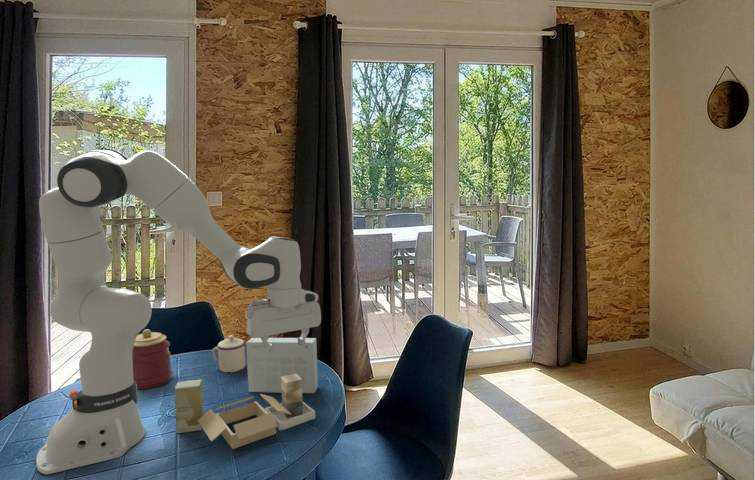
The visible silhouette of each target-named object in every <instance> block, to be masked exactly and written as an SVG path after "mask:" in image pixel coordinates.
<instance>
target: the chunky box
mask: <svg viewBox="0 0 755 480" xmlns="http://www.w3.org/2000/svg"><path fill="white" fill-rule="evenodd" d="M281 391H282V393H281V403H282V406H283V407H284V408H285V409H287V410H288V411H289V412H290V413H291V415H289V414H285V413H284V415H285V416H286V418H291V417H295V416H299V415H302V414H303V402H304V401H303V400H304V399H303V393H302V379H301V378H300V377H299V376H298V374H292V375H287V376H283V377H281Z"/></svg>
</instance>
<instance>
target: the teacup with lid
mask: <svg viewBox="0 0 755 480" xmlns="http://www.w3.org/2000/svg"><path fill="white" fill-rule="evenodd" d="M245 345H246V343H245V340H243V339H241V338H238V337H235V336H234V335H232V334H231V335H227V338H225V339H224V340H221V341H220V342H218V344H217V346H215V347H214V348H212V351H211V355H212V357H213V359H214V360H216V361H217V362H218V365H219V366H218V367H219V368H218V369H219V370H220V372H223V373H227V372H230V373H235V372H239V371H242V370H243V369H245V367H246V356H245ZM216 350H218V351H217V352H218V355H217V354H216ZM241 369H242V370H241Z"/></svg>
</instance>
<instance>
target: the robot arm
mask: <svg viewBox="0 0 755 480" xmlns="http://www.w3.org/2000/svg"><path fill="white" fill-rule="evenodd" d="M56 183H57V184H56V185H57V186H56V187H54V188H51V189H48V190H47V191H45V192H44V193H43V194H42V195H41V196H40V197H39V200H38V206H39V207H38V209H39V210H38V211H39V216H40V221H41V226H42V229H43V234H44V237H45V239H46V242H47V245H48V248H49V251H50V253H51V257H52V259H53V262H54V266H55V268H56V274H57V279H58V280H57V282H58V288H57V293H56V295H55V296H54V297H53V299H52V301H51V304H50V314H51V317H52V319H53V321H54V322H55V323H57V324H58V325H60V326H62V327H64V328H66V329H69V330H71V331H74V332H75V331H76V332H77V331H78V332H85V333H90V334H91V342H90V343H91V344H90V348H89V350H88V351H86V353H84V354H83V355H82V356H81V357H80V360H79V364H78V365H79V366H78V367H79V369H78V370H79V378H80V385H81V386H80V387H81V390H80V391H79V390H78V389H73V390H71V391H70V392H69V399H70V400H71V404H72V409H71V410H69V411H68V412H67V413H66V414H65V415H64V416H63V417H62V418H60V419H59V420H58V421H57V422H56V423H54V425H53V426H52V427H51V429H50V431H49V432H48V433H49V434H48V437H47V440H46V443H45V444H44V445H43V446H42V447H41V448H40V449H39V451H38V452H37V454H36V458H35V466H36V469H37V471H38V472H39V473H41V474H43V475H51V474H55V473H59V472H63V471H67V470H68V471H69V470H72V469H75V468H81V467H84V466H89V465H92V464H97V463H101V462H106V461H109V460H115V459H118V458H121V457H122V456H124V455H125V454H126V452H127V451H128V450H129V449H131V448H132V447H134V446H135V445H136V444H138V443H139V442H141V441H142V439H143V438H144V437H145V435H146V428H145V427H144V424H143V422H142V419H141V416H140V412H139V409H138V408H139V407H138V398H139V396H138V395H139V394H138V389H137V384H136V382H135V379H134V377H133V360H132V352H133V346H134V342H135V339H136V337H137V335H139V334H140V332H141V331H143V330H145V329H146V327H147V325H148V323H149V322H150V320H151V317H152V313H153V312H152V309H153V308H152V304H151V301H150V300H149V298H148V297H147V296H146V295H145V294H143V293H141V292H137V291H135V290H133V289H132V290H131V289H128V288H119V287H118V288H117V287H108V285H107V283H106V279H105V274H106V273H105V271H106V270H107V269H108V268H109V266H111V264H112V261H113V254H112V253H111V252H112V251H111V249H110V246H109V243H108V240H107V236H106V233H105V230H104V227H103V223H102V221H101V218H100V217H101V216H100V213H99V207H100V206H101V207H102V206H104V205H107V204H109V203H111V202H114V201H116V200H118V199H121V198H123V197H124V196H125V195H131V196H133V197H136V198H137V199H139V200H140V201H141V202H142V203H144V204H145V205H146V206H147V207H148V209H150V210H151V211H152V212H153V213H154V214H155V215H157V216H158V217H159V218H161V219H162V220H163V221H165V222H166V223H167V224H169V225H171V226H172V227H174V228H175V229H177V230H179V231H182V232H184V233H186V234H189V235H190V236H192V237H194V238H195V239H197V240H198V241H199V242H200V243H201V244H202V245H203V247H205V248H206V249H207V250H208V251H209V252H211V253H212V254H213V255H214V256H215V257H216V259H218V261H219V263H220V265H221V268H222V271H223V272H224V274H225V276H226V277H227V278H228V279H229V280H230V281H231V282H233V283H236V284H237V285H238V286H239V287H242V288H244V289H248V290H255V289H259V288H264V287H266V286H267V299H261V300H254V301H251V302H250V304H249V305H247V307H246V317H247V320H246V321H247V322H246V334H247V335H248V336H249V337H250V338H261V340H262V341H263V343H264V344H265V351H266V352H271V351H273V349H272V348H273V345H272V344H269V343H268V341H267V340H269V338H270V336H274V335H280V334H284V333H285V334H286V333H289V332H295V331H299V330H300V331H301V334H300V336H299V337H297V338H298V345H304V344H305V338H308V337H307V336H308V334H309V333H310V329H311V328H315V327H319V326H320V325H321V322H322V311H321V306H320V303H319V302H318V301H319V295H318V293H316V292H313V291H311V290H307V289H304V288H302V282H301V278H300V277H301V276H300V274H301V271H302V263H301V262H302V260H301V252H300V251H301V250H300V246H299V243H298V242H297V241H296V240H295V239H293V238H290V237H284V236H274V235H273V236H270V237H269V238H267V240H265V241H263V242H262V243H261V244H258V245H256V246H254V247H253V248H250V247H248V246H244V245H241V244H240V243H238V242H236V241H235V240H234V239H233V238H232V236H230V235H229V234H228V233H227V232H226V231H225V230H224V229H223V228H222V227H221V226H220V225H219V224H218V223H217V221H215V219H214V218H213V215H212V213H211V210H210V205H209V201H208V199H207V198H206V197H205V195H204V194H203V192H202V191H201V190H200V188H199V187H198V186H197V185H196V183H194V181H192V180H191V178H189V177H188V176H187V175H186V174H185V172H183V171H182V170H181V169H180V168H179V167H177V166H176V165H175V164H173V163H172V162H171V161H170V160H168V159H167V158H165V157H164V156H162V155H161V154H160V153H159V152H156V151H153V150H144V151H140V152H138V153H135V154H134V155H132V156H131V157H130V158H128V156H126V155H125V154H124V153H122V152H120V151H118V150H115V149H112V148H97V149H93V150H88V151H85V152H83V153H81V154H79V155H78V156H76V157H72V158H70V159H69V160H68V161H66V162H65V163H64V164H63V165H62V166H61V168H60V170H58V173H57V178H56Z"/></svg>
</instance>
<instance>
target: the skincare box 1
mask: <svg viewBox="0 0 755 480" xmlns="http://www.w3.org/2000/svg"><path fill="white" fill-rule="evenodd" d="M203 398H204V397H203V379H194V380H185V381H184V380H183V381H177V382H176V384H175V386H174V403H175V425H176V426H175V427H176V430H175V431H176V433H177V434H181V433H190V432H198V431H203V428H202V427H201V425H200V424H199V422H198V421H197V420H198V419H200V418H201V417H202V416H203V415H204V402H203V401H204V400H203Z"/></svg>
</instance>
